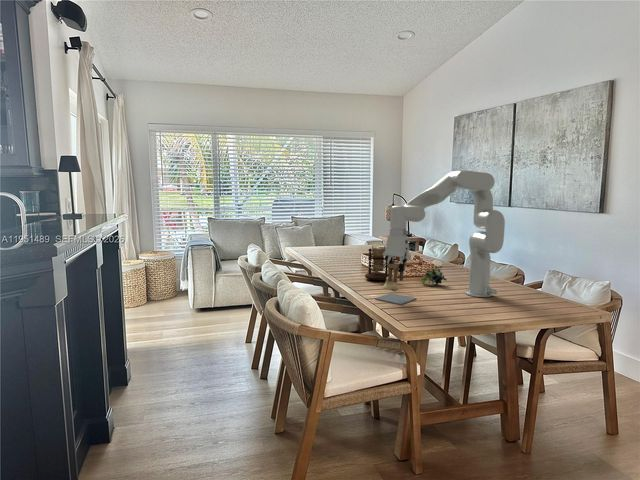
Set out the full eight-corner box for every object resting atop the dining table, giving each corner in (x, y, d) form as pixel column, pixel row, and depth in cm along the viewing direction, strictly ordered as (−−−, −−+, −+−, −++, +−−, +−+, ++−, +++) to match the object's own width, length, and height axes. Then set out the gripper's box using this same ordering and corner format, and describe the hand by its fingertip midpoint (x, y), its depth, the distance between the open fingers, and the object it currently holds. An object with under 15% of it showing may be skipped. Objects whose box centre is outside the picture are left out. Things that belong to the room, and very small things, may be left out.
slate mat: (416, 299, 198) (416, 298, 198) (401, 305, 187) (401, 303, 187) (391, 294, 207) (391, 293, 207) (375, 299, 197) (375, 298, 197)
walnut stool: (396, 282, 192) (396, 265, 191) (386, 281, 195) (387, 264, 194) (404, 280, 197) (404, 263, 196) (394, 278, 200) (395, 262, 199)
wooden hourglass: (390, 277, 247) (391, 244, 245) (391, 283, 232) (392, 247, 230) (365, 276, 249) (366, 243, 247) (364, 282, 234) (365, 246, 232)
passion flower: (436, 293, 231) (450, 277, 228) (431, 294, 221) (446, 277, 219) (420, 280, 236) (434, 264, 233) (415, 280, 226) (429, 263, 223)
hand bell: (398, 289, 216) (399, 259, 214) (382, 289, 218) (382, 258, 216) (398, 286, 224) (399, 257, 223) (382, 285, 226) (383, 256, 224)
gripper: (418, 233, 191) (416, 272, 193) (386, 230, 202) (384, 267, 204) (410, 234, 185) (407, 274, 187) (377, 231, 196) (376, 269, 198)
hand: (395, 270), depth 195 cm, fingers closed on walnut stool, 5 cm apart
